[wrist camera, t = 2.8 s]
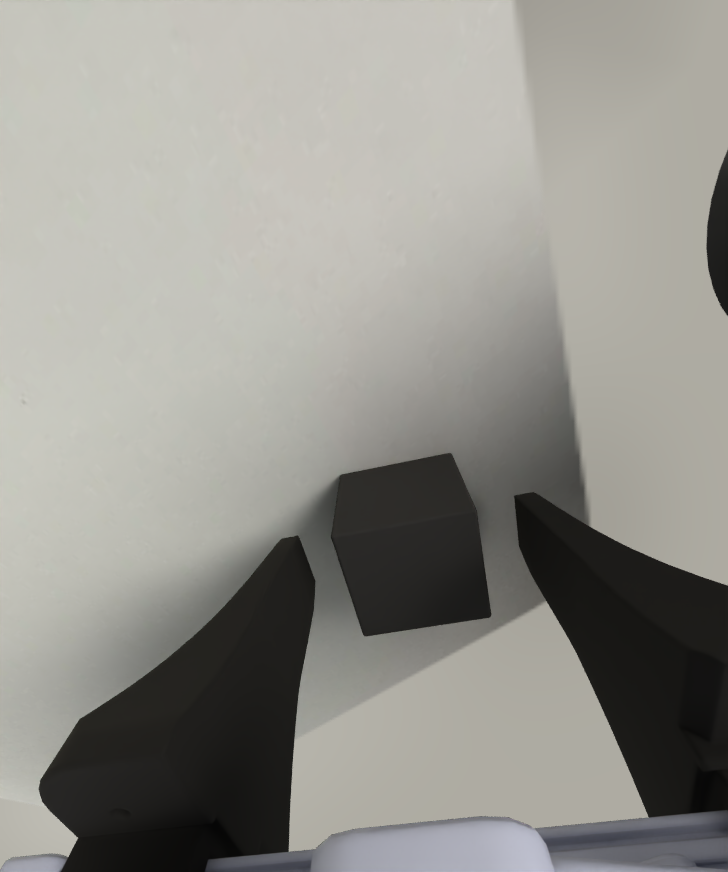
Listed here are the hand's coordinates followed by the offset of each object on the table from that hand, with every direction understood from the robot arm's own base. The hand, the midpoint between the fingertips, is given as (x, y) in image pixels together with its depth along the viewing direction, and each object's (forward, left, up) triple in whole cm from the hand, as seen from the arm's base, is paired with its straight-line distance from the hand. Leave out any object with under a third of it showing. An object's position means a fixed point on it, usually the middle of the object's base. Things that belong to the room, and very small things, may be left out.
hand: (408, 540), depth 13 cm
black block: (0, 0, -2) cm, 2 cm away
